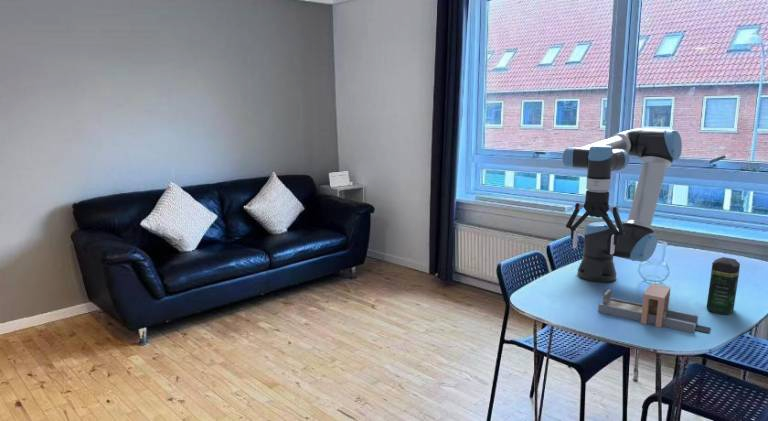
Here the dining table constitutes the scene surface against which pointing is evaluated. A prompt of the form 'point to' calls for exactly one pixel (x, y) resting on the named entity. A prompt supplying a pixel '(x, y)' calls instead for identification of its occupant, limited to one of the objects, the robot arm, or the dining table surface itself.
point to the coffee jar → (723, 285)
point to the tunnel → (658, 294)
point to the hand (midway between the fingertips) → (593, 250)
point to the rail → (653, 316)
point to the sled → (651, 310)
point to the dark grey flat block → (702, 329)
